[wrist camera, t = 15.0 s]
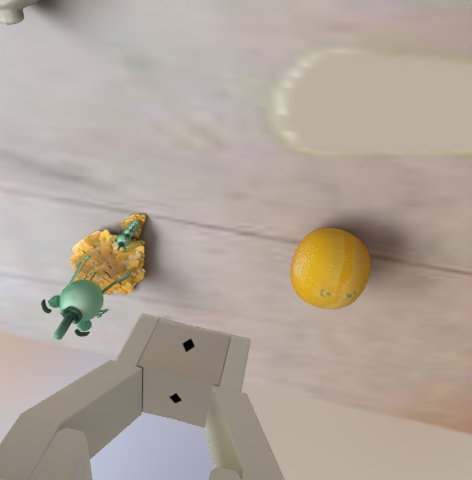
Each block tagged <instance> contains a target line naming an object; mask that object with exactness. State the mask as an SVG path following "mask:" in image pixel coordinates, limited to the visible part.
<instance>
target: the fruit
mask: <svg viewBox="0 0 472 480" xmlns="http://www.w3.org/2000/svg"><path fill="white" fill-rule="evenodd" d="M370 266H371V265H370V256H369V252H368V250H367V248H366V246H365V245H364V243H363V242H362V241H361V240H360V239H359V238H357V237H356V236H354V235H353V234H351V233H349V232H347V231H345V230H342V229H338V228H322V229H318V230H315V231H313V232H311V233H310V234H308V235H307V236H306V237H305V238H304V239H303V240H302V242H301V243H300V244H299V246H298V248H297V250H296V252H295V254H294V257H293V261H292V265H291V281H292V285H293V287H294V290H295V291H296V293H297V294H298V296H299V297H300V298H301V299H302V300H304V301H305V302H307V303H308V304H311V305H313V306H316V307H319V308H324V309H339V308H343V307H345V306H347V305H349V304H351V303H352V302H354V301H355V300H356V299H357V298H358V297H359V296H360V294H361V293H362V292H363V290H364V288H365V286H366V284H367V281H368V278H369V274H370Z"/></svg>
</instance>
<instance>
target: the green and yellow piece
mask: <svg viewBox="0 0 472 480" xmlns="http://www.w3.org/2000/svg"><path fill="white" fill-rule="evenodd" d="M145 220H146V215H145V214H132V215H131V216H130V218H128V219H127V220H125V221H122V222H121V224H122V227H121V228H123V229H122V230H123V231H122V234H121V235H119V234H118V235H112V234H110V233H109V231H108V230H106V229H105V230H104V231H103V232H102V231H96V232H94V233H93V234H91V235H89V236H87V237H85V238H84V239H83V240H82V241H80V242H78V243H77V244H76V245H75V246H74V247H73V248H72V251H73V252H74V253H75V254H73V255H71V258H72V259H71V261H72V262H73V263H71V265H72V268H74V269H75V270H76V271H75V274H74V275H73V277H72V279H71V281H70V282H69V284H68V285H67V286H66V287H65V289H64V290H63V291H62V293H61V295H60V296H59V295H58V296H53V297H52V298H51V299H50V300H49V301H48V303H49V305H50V306H51V307H53V308H57V307H59V308H60V311H61V312H60V313H61V314H62V316H63V317H64V319H63V321H62V322H61V324H60V326H59V327H58V329H57V330H56V332H55V333H54V338H56V339H59V340H60V339H62V337H63V336H64V334H65V333H66V331H67V330H68V328H69V326H70V325H71V323H74V324H78V323H79V322H80V323H79V324H78V326H77V327H78V328H79V330H82V331H87V330H89V329H90V328H91V327H92V326H91V324H92V323H91V322H90V321H89V320H90V319H92V318H94V317H95V316H97V315H98V316H97V318H99V317H101V316H102V315H103V314H104V313H105V312H107V311H108V310H109V309H105V310H101V311H100V309H101V308H102V305H103V294H106V293H107V294H108V295H110V294H112V293H123V294H127V293H128V292H131V291H132V290H133V287H134V286H135V285H136V283H137V282H140V281H141V280H142V279H144V272H145V270H144V269H143V268H141V267H142V266H143V264H144V262H143V261H144V257H145V255H144V247H145V246H143V245H144V243H145V242H144V241H142V240H135V239H137V238H139V239H140V237H139V236H140V234H141V233H140V232H141V231H142V230H141V229H142V227H143V224H144V222H145ZM120 233H121V232H120ZM133 237H134V238H133ZM131 238H133V240H131ZM144 265H145V264H144ZM76 273H77V274H76ZM41 305H42V309H43V311H44V312H46V313H50V312H51V311H52V310H51V309H48V308H47V306H46V303H45V299H44V300H43V301H42V303H41ZM103 311H104V312H103ZM99 312H103V313H101V314H99ZM79 330H78V329H76V330H75V334H76V335H78V336H87V335H88V334H89V333H90V332H80V331H79Z"/></svg>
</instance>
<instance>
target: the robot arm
mask: <svg viewBox="0 0 472 480" xmlns="http://www.w3.org/2000/svg"><path fill="white" fill-rule="evenodd" d="M231 335H232V334H227V333H223V332H218V331H214V330H209V329H205V328H200V327H194V326H190V325H186V324H182V323H179V322H175V321H171V320H167V319H164V318H159V317H155V316H151V315H147V314H142V315H141V316H140V317H139V318H138V320H137V322H136V323H135V325H134V327H133V329H132V331H131V333H130V335H129V336H128V338H127V340H126V342H125V344H124V346H123V348H122V349H121V351H120V353H119V355H118V357H117V359H116V361H112V360H109V361H107V362H106V363H104V364H102V365H101V366H99V367H97V368H96V369H94V370H92V371H91V372H89V373H87V374H86V375H84V376H83V377H81V378H79V379H78V380H76V381H74V382H73V383H71V384H69V385H68V386H66V387H64V388H63V389H61V390H60V391H58V392H56V393H55V394H53V395H51V396H50V397H48V398H46V399H45V400H43V401H41V402H40V403H38V404H37V405H35V406H33V407H32V408H30V409H28V410H27V411H25V412H24V413H22V414H21V415H20V416H19V418H18V419H17V421H16V422H15V424H14V425H13V426H12V428H11V429H10V431H9V432H8V434H7V435H6V436H5V438H4V439H3V441H2V442H1V444H0V480H92V473H91V467H90V459H91V458H92V457H93V456H94V455H95V454H96V453H98V452H99V451H100V450H101V449H102V448H103V447H105V446H106V445H107V444H108V443H109V442H110V441H111V440H112V439H114V438H115V437H116V436H117V435H118V434H119V433H120V432H122V431H123V430H124V429H125V428H126V427H127V426H128V425H130V424H131V423H132V422H133V421H134V420H135V419H136V418H138V416H140V415H141V412H145V413H149V414H154V415H158V416H163V417H167V418H172V419H175V420H179V421H183V422H186V423H190V424H193V425H197V426H201V427H204V428H205V432H206V436H207V440H208V444H209V448H210V451H211V455H212V459H213V462H214V466H215V469H214V470H212V471H211V473H210V477H209V480H285V479H284V477H283V474H282V472H281V470H280V468H279V465H278V463H277V461H276V459H275V457H274V454H273V452H272V450H271V447H270V445H269V443H268V441H267V438H266V436H265V434H264V432H263V429H262V427H261V425H260V423H259V420H258V418H257V416H256V414H255V412H254V409H253V407H252V405H251V402H250V400H249V398H248V395H247V394H246V393H242V392H241V390H242V384H243V379H244V374H245V368H246V363H247V358H248V352H249V347H250V339H248V338H243V337H239V336H235V335H232V336H231Z"/></svg>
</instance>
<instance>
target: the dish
mask: <svg viewBox="0 0 472 480" xmlns="http://www.w3.org/2000/svg"><path fill="white" fill-rule="evenodd" d="M38 1H39V0H0V22H1V23H3V24H6V25H11V24H16V23H19V22H21V21H22V20H23V19H24V14H23V8H25V7H27V6H29V5H31V4H34V3H36V2H38Z"/></svg>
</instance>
